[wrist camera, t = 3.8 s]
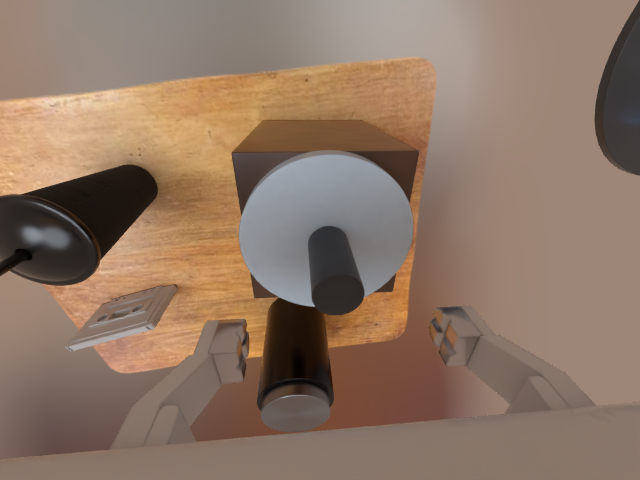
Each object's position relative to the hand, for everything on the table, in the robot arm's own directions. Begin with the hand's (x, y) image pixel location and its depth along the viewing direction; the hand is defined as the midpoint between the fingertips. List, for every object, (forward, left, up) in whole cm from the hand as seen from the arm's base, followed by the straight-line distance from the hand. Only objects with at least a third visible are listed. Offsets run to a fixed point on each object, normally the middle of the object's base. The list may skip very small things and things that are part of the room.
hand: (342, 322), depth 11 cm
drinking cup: (+21, +1, -24) cm, 32 cm away
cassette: (+26, +18, -24) cm, 40 cm away
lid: (0, 0, -8) cm, 8 cm away
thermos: (+3, +24, -24) cm, 34 cm away
